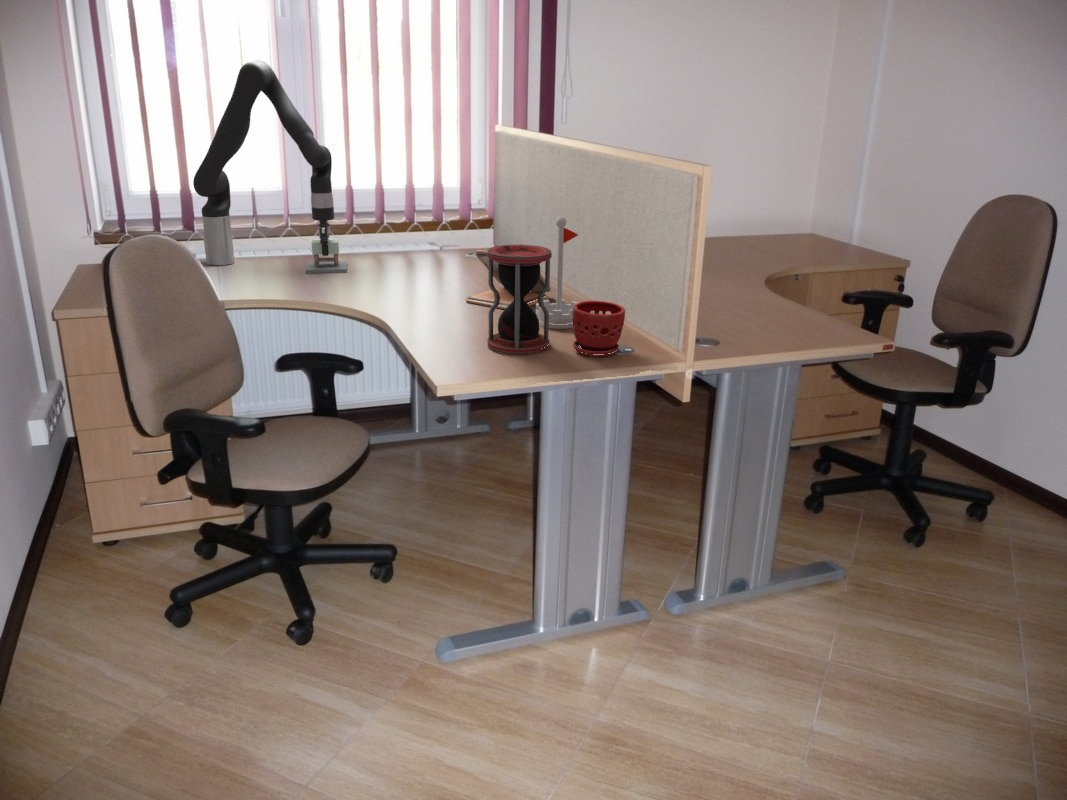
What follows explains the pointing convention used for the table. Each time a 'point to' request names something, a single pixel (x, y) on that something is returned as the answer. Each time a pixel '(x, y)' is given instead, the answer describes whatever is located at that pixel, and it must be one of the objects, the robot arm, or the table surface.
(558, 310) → the flag stand
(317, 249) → the mint green toy brick
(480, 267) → the table surface
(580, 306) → the plant pot
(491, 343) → the hourglass
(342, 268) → the mat
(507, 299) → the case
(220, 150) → the robot arm
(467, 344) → the table surface
